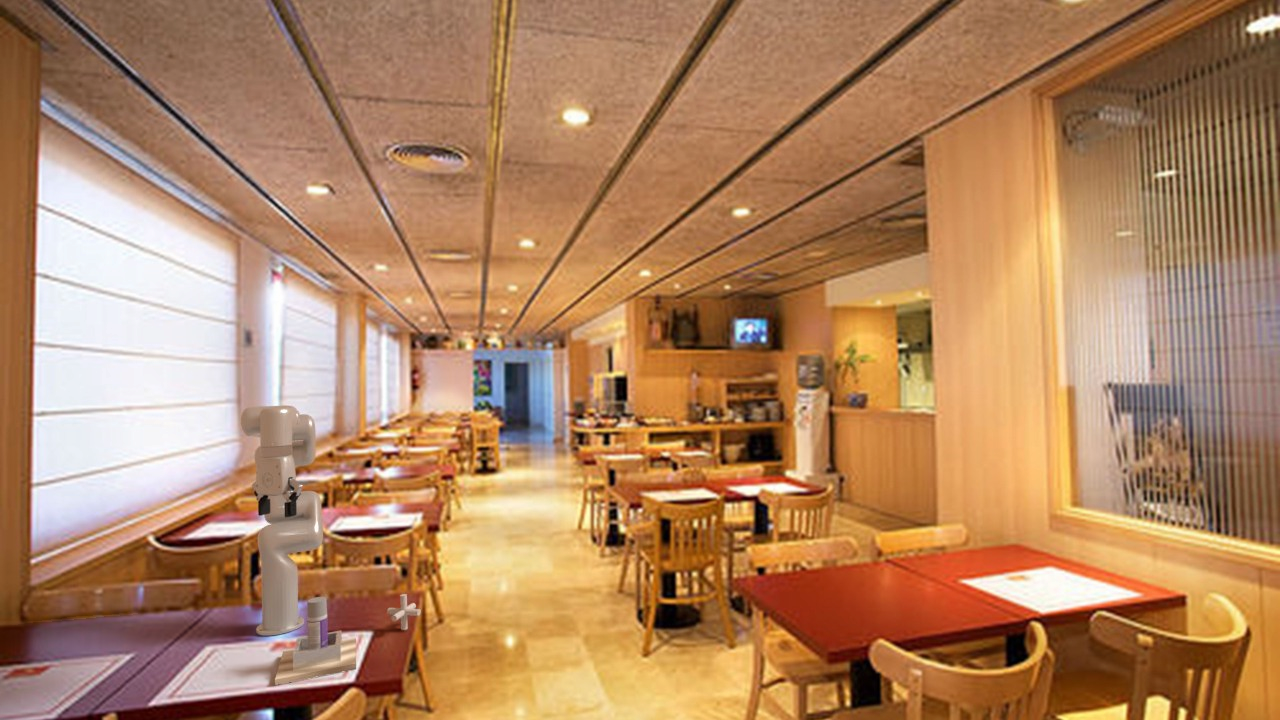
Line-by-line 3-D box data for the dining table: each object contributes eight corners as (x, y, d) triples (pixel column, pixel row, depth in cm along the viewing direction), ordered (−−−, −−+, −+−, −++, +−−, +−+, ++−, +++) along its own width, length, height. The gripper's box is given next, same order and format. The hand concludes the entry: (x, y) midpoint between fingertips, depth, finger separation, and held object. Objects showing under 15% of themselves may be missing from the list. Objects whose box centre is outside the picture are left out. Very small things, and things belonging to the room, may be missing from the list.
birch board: (283, 656, 167) (283, 651, 167) (356, 643, 175) (356, 637, 175) (275, 685, 151) (274, 679, 151) (356, 669, 158) (355, 663, 158)
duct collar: (297, 653, 165) (296, 638, 166) (341, 645, 170) (341, 630, 170) (293, 670, 156) (292, 654, 156) (340, 660, 160) (340, 645, 160)
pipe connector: (409, 636, 178) (409, 601, 178) (378, 635, 180) (378, 600, 180) (428, 623, 188) (427, 589, 188) (398, 621, 190) (398, 588, 190)
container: (323, 651, 166) (322, 595, 167) (331, 656, 163) (330, 598, 164) (304, 657, 162) (304, 600, 163) (312, 662, 159) (311, 604, 160)
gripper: (240, 453, 168) (241, 517, 167) (287, 454, 162) (288, 520, 161) (266, 450, 175) (266, 511, 174) (312, 451, 169) (313, 513, 168)
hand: (277, 515), depth 168 cm, fingers open, 9 cm apart
